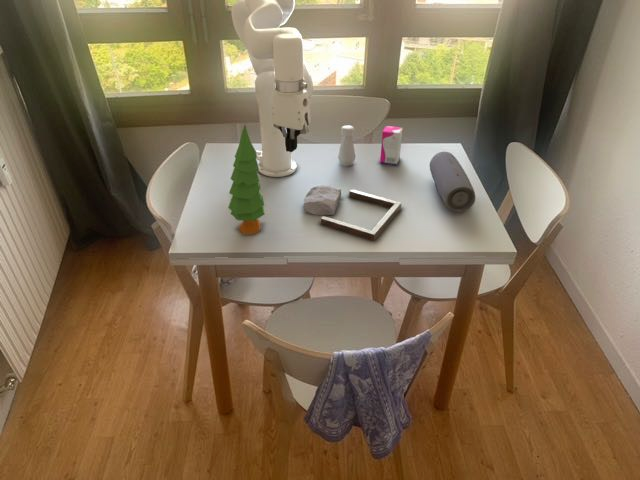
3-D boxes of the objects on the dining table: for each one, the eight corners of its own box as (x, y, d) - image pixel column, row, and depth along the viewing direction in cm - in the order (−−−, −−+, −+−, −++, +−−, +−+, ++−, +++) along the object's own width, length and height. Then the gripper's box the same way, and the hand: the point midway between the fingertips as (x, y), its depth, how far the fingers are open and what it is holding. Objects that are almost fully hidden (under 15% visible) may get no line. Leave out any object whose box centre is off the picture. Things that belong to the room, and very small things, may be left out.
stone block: (302, 218, 141) (336, 216, 139) (299, 203, 139) (333, 201, 136) (311, 199, 151) (343, 197, 148) (308, 185, 149) (341, 182, 146)
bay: (320, 224, 136) (320, 218, 135) (351, 194, 149) (351, 189, 148) (373, 241, 129) (374, 234, 128) (400, 208, 143) (401, 202, 142)
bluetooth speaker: (474, 216, 140) (480, 184, 134) (441, 216, 140) (446, 185, 134) (454, 178, 158) (459, 149, 153) (425, 178, 158) (429, 149, 153)
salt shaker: (344, 158, 170) (345, 122, 163) (358, 162, 168) (360, 126, 160) (334, 164, 166) (335, 127, 159) (348, 168, 164) (350, 131, 156)
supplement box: (400, 158, 170) (403, 127, 164) (396, 166, 166) (399, 133, 159) (383, 156, 172) (386, 124, 165) (379, 163, 167) (382, 131, 161)
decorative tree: (267, 236, 131) (259, 128, 114) (231, 240, 129) (218, 131, 112) (264, 217, 138) (256, 114, 121) (230, 220, 137) (217, 116, 120)
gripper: (321, 85, 129) (320, 150, 139) (273, 77, 135) (276, 140, 145) (306, 93, 124) (307, 160, 134) (257, 84, 130) (262, 149, 140)
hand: (291, 150), depth 140 cm, fingers closed
